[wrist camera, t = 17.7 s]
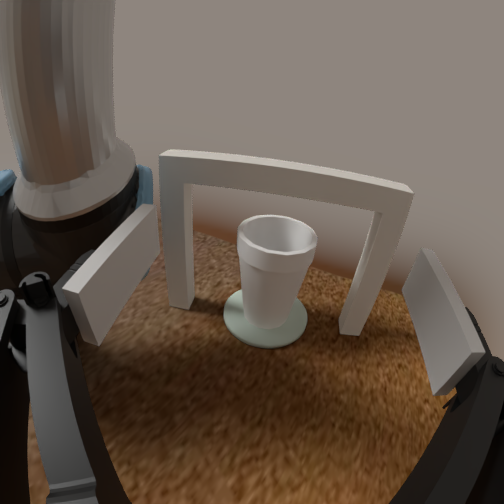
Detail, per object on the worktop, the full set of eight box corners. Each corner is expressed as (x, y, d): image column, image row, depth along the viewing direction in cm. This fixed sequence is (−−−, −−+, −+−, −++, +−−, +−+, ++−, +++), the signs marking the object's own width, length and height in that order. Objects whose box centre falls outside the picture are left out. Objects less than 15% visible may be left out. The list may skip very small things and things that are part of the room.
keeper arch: (158, 327, 38) (139, 167, 26) (185, 275, 48) (182, 141, 36) (362, 359, 36) (429, 210, 24) (353, 302, 46) (394, 173, 34)
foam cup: (220, 302, 42) (223, 222, 35) (272, 284, 47) (284, 210, 40) (256, 347, 36) (269, 264, 29) (311, 322, 40) (333, 243, 33)
